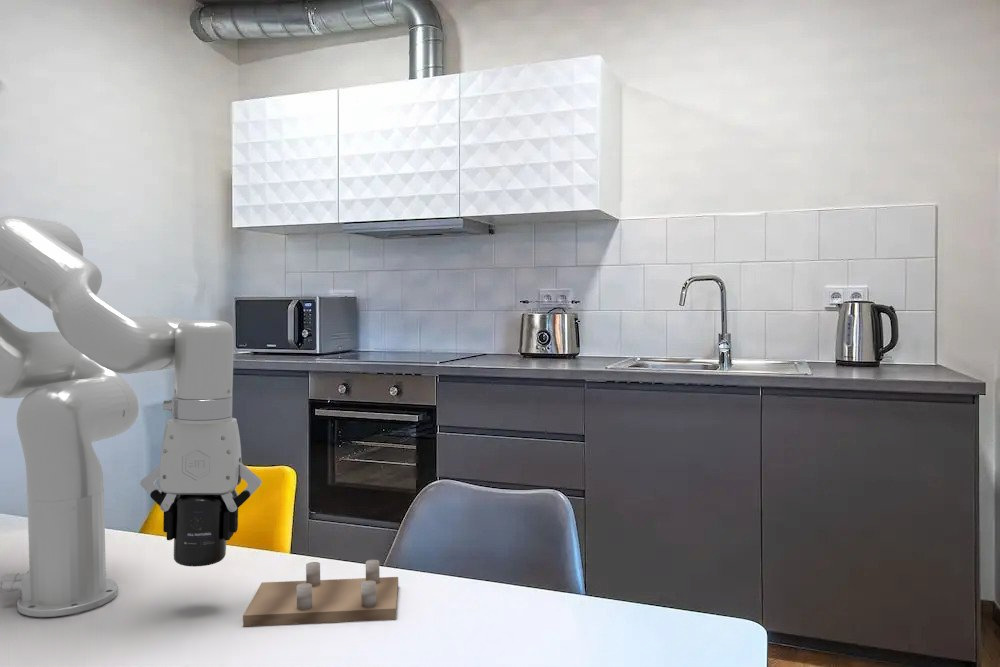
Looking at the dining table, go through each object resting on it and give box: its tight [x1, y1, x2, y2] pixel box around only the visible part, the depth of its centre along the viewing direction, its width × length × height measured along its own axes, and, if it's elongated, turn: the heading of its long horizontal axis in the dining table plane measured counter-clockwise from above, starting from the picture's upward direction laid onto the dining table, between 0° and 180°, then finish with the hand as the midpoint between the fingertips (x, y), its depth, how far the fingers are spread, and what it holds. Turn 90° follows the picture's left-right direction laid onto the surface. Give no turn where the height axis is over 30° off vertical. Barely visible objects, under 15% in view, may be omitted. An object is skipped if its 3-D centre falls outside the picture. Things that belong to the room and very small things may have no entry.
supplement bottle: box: [173, 495, 227, 567], centre depth 105 cm, size 7×7×12 cm
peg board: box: [242, 559, 399, 628], centre depth 107 cm, size 20×12×4 cm, turn 96°
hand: (200, 536), depth 105 cm, fingers closed on supplement bottle, 6 cm apart
